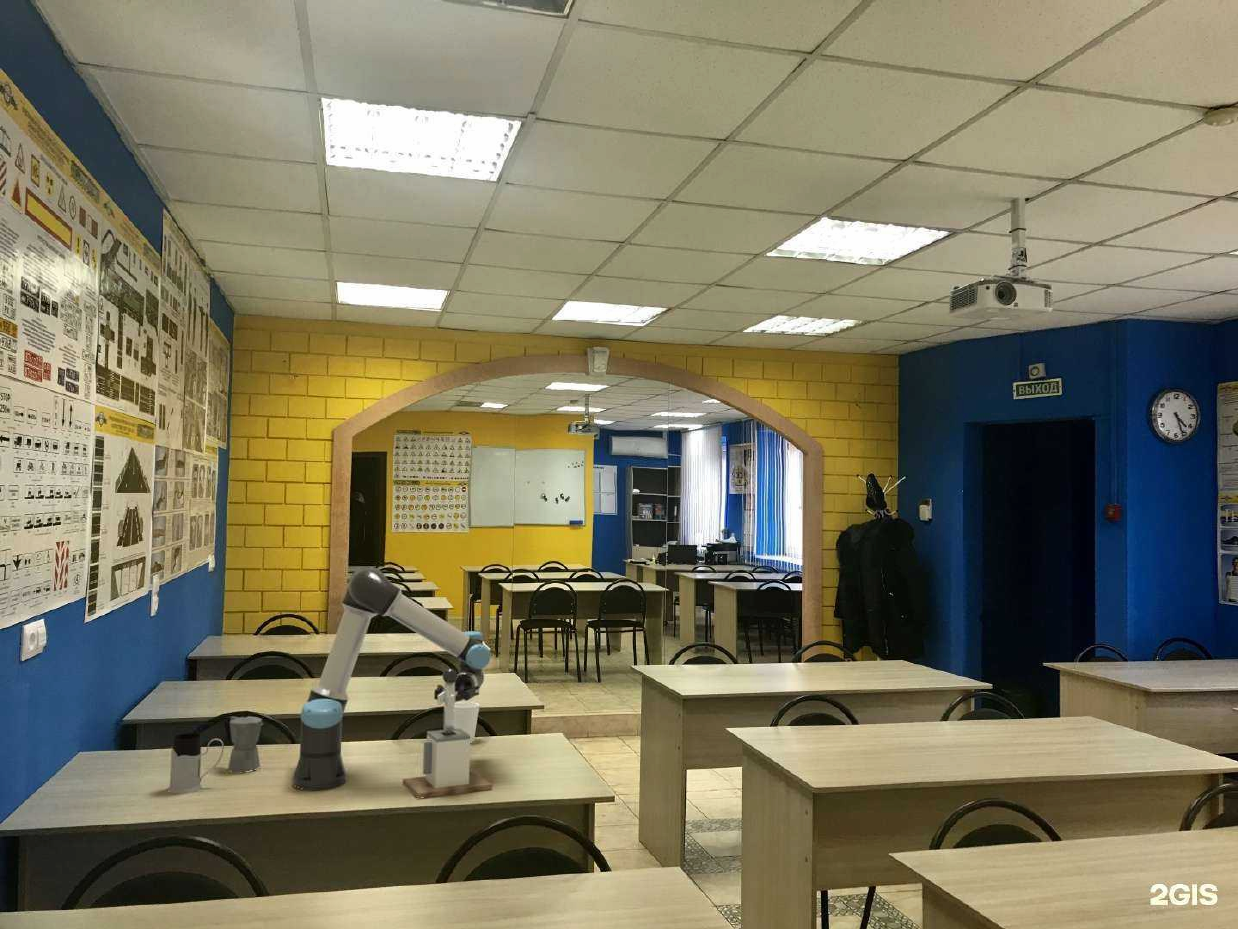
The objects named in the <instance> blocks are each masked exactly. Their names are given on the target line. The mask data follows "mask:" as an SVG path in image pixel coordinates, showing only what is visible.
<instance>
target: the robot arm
mask: <svg viewBox="0 0 1238 929" xmlns="http://www.w3.org/2000/svg"><path fill="white" fill-rule="evenodd" d="M341 605H342V607H343V609H344V612H343V615H342V617H341V620H340V623H339V625H338V628H337V631H336V633H335V637H334V640H333V643H332V645H331V648H330V651H329V653H328V656H327V660H326V663H325V665H324V668H323V670H322V674H321V675H320V679H319V682H318V684H317V685H314V686H313V687H311V690H310V692H309V695H308V699H307V701H306V703H304V704H303V705H302V707H301V712H300V743H299V745H300V746H299V758H298V761H297V763H296V767H295V770H294V772H293V774H292V775H293V776H292V783H293V785H294V786H296V787H299V788H303V789H302V790H305V789H312V790H311V791H318V790H319V789H321V790H328V788H329V789H333V787H334V788H337V787H340V786H342V785H344V784H345V783H346V782H347V773H346V771H347V770H346V769H345V765H344V762H343V758H342V732H343V716H344V712H345V709H346V706H347V703H348V700H349V696H348V694H347V688H348V685H349V683H350V680H351V678H352V674H353V671H354V668H355V665H356V663H357V660H358V657H359V654H360V651H361V648H362V646H363V642H364V640H365V636H366V635H367V634H366V633H367V631H368V628H369V626H370V623H371V620H372V618H374V617H375V616H378V615H380V616H382V617H386V616H387V617H388V616H389V617H390V618H392V619H393V620H395V621H396V622H398V623H400V624H402V625H403V626H405V627H407V628H408V629H409V630H411V631H413V632H415V633H416V634H418V635H420V636H421V637H423V638H424V639H426V640H428V641H429V642H431V643H433V644H434V645H436V646H437V647H439V648H441V649H442V650H444V651H446V652H448V653H449V654H450V655H452V656H454V657H456V658H457V659H458V673H457V674H458V678H457V680H456V681H455V693H453V694H452V695H451V696H450V705H451V706H453V705H454V704H455V703H458V702H463V701H465V702H468V701H470V700H471V699H472V698H474V697H475V696H479V695H480V688H481V687H482V685H483V683H484V681H485V674H484V672H483V669H484V668H486V667H487V666H488V665H489V663H490V661H491V652H490V650H489V648H488V647H487V646H486V645H484V639H483V636H484V635H483V633H482V632H481V631H475V630H474V631H472V630H470V631H462V630H460V629H458V628H457V627H455V626H453V625H452V624H451V623H450V622H447V621H446V620H444V619H442V618H441V617H439V616H438V615H436V614H434V613H433V612H431V611H430V610H428V609H426V608H425V607H423V606H422V605H420V604H418V603H417V602H416V601H413V600H412V599H411V598H409V597H407V596H406V595H404V594H403V593H402V589H401V588H399V587H398V586H396V585H394V584H393V582H391V581H390V579H388V578H387V577H386V576H385V574H384V573H383V572H382V571H381V569H378V568H376V567H372V566H363V567H360V568H358V569H356V570H355V571H354V572H353V573H352V574H351V575H350V577H349V579H348V584H347V587H346V591H345V594H344V597H343V600H342V602H341ZM436 686H437V687H436V689H435V690H434V697H433V699H434V700H436V701H437V702H436V703H437V706H441V705H442V704H444V696H445V686H444V685H441V684H438V685H436ZM293 785H292V786H293ZM294 786H293V787H294ZM296 787H295V788H296ZM299 788H298V789H299ZM313 789H315V790H313ZM317 789H318V790H317Z"/></svg>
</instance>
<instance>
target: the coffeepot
mask: <svg viewBox="0 0 1238 929" xmlns="http://www.w3.org/2000/svg"><path fill="white" fill-rule="evenodd" d="M249 713H250V710H243V716H241V717H238V716H233V715H232V716H231V715H229V716H228V715H227V717H225V719H224V721H223V726H224V731H225V736H226V739H227V743H229V744H233V748H232V749H231V753H230V758H229V762H228V763H229V764H228V767H227V770H228V771H229V770H230V771H232V772H246V771H250V770H255V769H257V768H258V767H260V768H261V764H260V758H259V749H258V747H257V743H258V741H259V740H260V739H259V738H260V733H261V728H262V726H263V725H264V722H263V719H262V718H260V717H258V716H256V717H255V716H251V715H250V716H249ZM230 771H229V772H230ZM232 772H231V773H232Z"/></svg>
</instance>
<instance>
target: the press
mask: <svg viewBox="0 0 1238 929" xmlns="http://www.w3.org/2000/svg"><path fill="white" fill-rule="evenodd" d="M443 730H444V729H439V730H429V731H426V741H424V742H423V760H422V765H423V766H422V774H423V775H425V776H426V780H427V781H428V782H429V783H430V784H431V785H433V786H434V787H435V788H442V787H450V786H458V785H466V784H469V771H470V762H471V761H470V758H471V756H470V755H471V751H470V750H471V744H470V735H469V734H467V733H466V732H464V731H463V730H461V729H460V728H458V729H454V735H446V736H444V735H443Z"/></svg>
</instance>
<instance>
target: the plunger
mask: <svg viewBox="0 0 1238 929" xmlns="http://www.w3.org/2000/svg"><path fill="white" fill-rule="evenodd" d="M458 674H459V673H458V672H457V671H456V669H454V668H447V669H446V670H444V672H443V674H442V679H443V682H444V687H445V696H444V702H443V704H444V705H443V729H442V730H443V735H444V736H446V735H454V705H455V704H454V705H453V706H451V705H450V696H451V695H452V694H453V693H455V681H456V680H457V678H458Z"/></svg>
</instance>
